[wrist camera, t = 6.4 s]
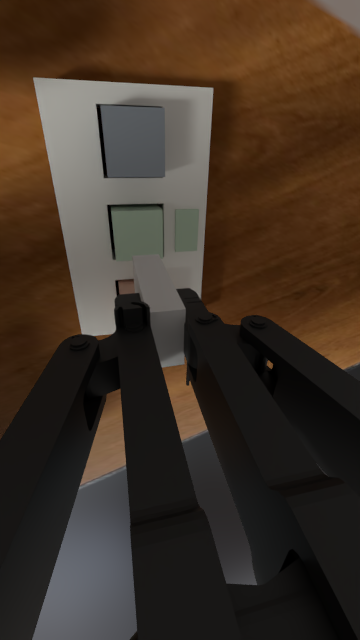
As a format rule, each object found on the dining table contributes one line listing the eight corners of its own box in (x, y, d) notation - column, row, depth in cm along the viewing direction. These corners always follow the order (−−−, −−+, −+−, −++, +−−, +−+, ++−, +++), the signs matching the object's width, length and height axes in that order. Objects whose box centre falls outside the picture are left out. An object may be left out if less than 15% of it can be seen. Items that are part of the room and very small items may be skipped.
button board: (192, 311, 34) (199, 325, 31) (84, 321, 31) (82, 338, 29) (201, 93, 23) (214, 87, 21) (41, 85, 21) (32, 77, 18)
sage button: (157, 247, 28) (163, 258, 25) (115, 249, 27) (116, 261, 25) (156, 203, 26) (162, 210, 23) (110, 204, 25) (111, 211, 22)
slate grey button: (158, 173, 23) (165, 177, 21) (107, 173, 23) (107, 177, 20) (157, 112, 21) (164, 107, 19) (100, 109, 21) (100, 105, 18)
